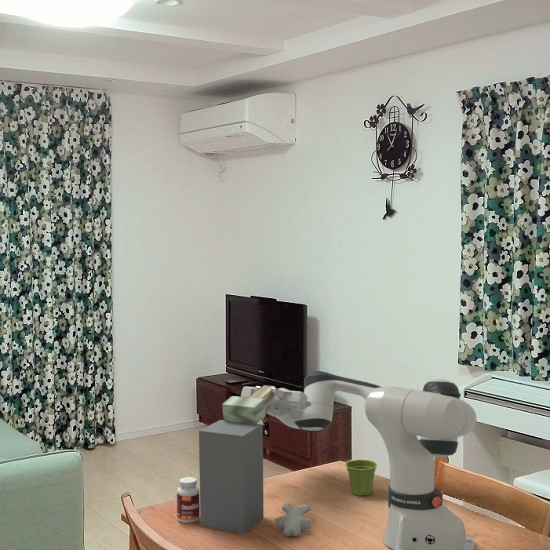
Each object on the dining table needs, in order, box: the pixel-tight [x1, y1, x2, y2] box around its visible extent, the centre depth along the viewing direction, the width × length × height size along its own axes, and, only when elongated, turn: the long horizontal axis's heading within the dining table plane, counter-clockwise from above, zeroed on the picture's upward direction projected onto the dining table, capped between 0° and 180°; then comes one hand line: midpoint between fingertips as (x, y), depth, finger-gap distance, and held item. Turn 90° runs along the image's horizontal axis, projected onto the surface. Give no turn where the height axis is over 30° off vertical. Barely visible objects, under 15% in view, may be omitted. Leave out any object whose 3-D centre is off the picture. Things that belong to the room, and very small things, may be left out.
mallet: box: [221, 385, 276, 425], centre depth 227 cm, size 10×20×5 cm, turn 155°
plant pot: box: [345, 459, 378, 497], centre depth 237 cm, size 9×9×9 cm
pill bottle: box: [176, 476, 200, 524], centre depth 218 cm, size 6×6×11 cm
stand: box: [198, 419, 265, 535], centre depth 215 cm, size 13×12×26 cm
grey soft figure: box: [274, 502, 312, 537], centre depth 212 cm, size 10×5×15 cm
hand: (265, 389), depth 233 cm, fingers open, 3 cm apart
